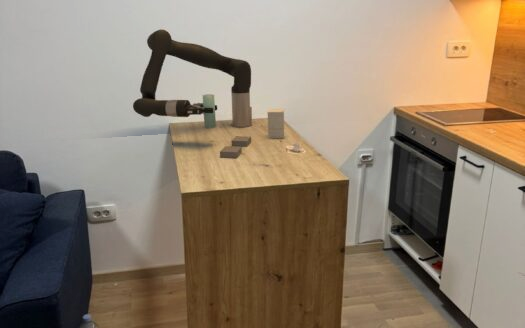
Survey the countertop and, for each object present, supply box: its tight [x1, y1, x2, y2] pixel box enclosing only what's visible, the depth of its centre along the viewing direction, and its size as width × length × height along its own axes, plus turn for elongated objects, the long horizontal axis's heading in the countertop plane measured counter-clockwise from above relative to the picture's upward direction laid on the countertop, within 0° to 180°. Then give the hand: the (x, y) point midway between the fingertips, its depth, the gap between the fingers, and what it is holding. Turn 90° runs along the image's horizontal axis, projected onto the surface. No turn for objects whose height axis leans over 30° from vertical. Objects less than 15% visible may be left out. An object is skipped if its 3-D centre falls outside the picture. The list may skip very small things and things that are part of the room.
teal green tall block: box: [202, 94, 217, 129], centre depth 211 cm, size 5×5×14 cm
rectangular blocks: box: [219, 135, 252, 159], centre depth 207 cm, size 25×7×2 cm, turn 168°
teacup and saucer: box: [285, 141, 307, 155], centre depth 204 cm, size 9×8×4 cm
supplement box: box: [267, 108, 285, 139], centre depth 226 cm, size 7×7×13 cm
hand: (214, 109), depth 210 cm, fingers closed on teal green tall block, 5 cm apart
